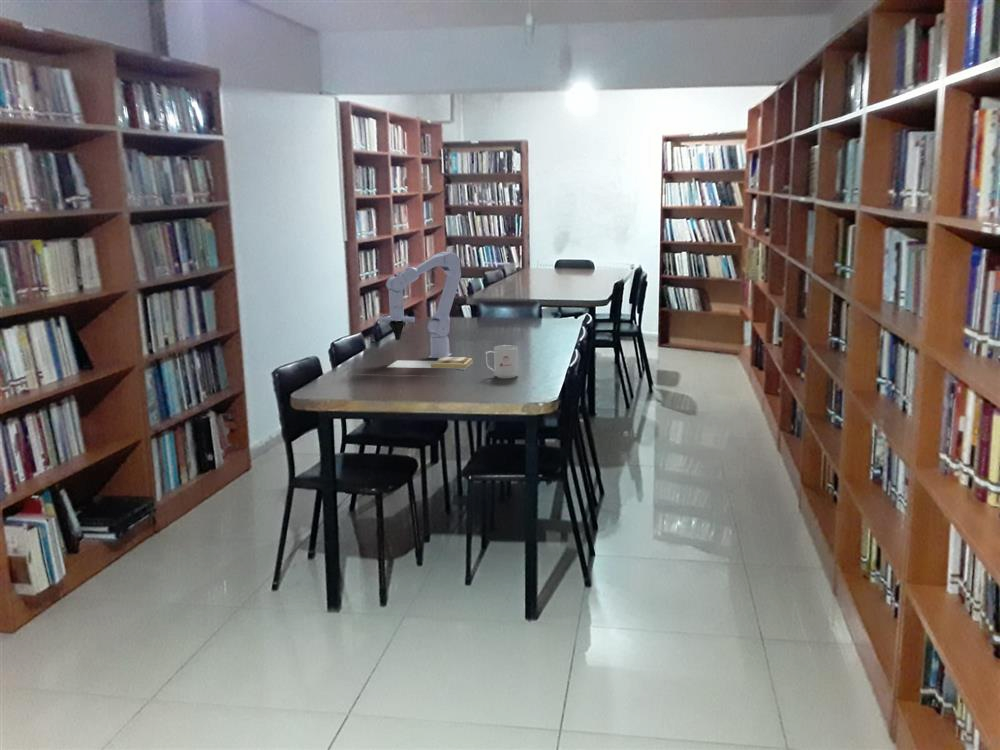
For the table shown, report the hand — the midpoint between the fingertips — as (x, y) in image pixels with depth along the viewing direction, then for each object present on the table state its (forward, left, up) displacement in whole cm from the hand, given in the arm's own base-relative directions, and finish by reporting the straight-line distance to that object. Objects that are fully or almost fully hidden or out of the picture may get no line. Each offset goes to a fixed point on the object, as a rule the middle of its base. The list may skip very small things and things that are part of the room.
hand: (398, 339), depth 359 cm
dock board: (+6, +15, -9) cm, 19 cm away
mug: (+24, +48, -10) cm, 55 cm away
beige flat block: (+6, +24, -9) cm, 26 cm away
